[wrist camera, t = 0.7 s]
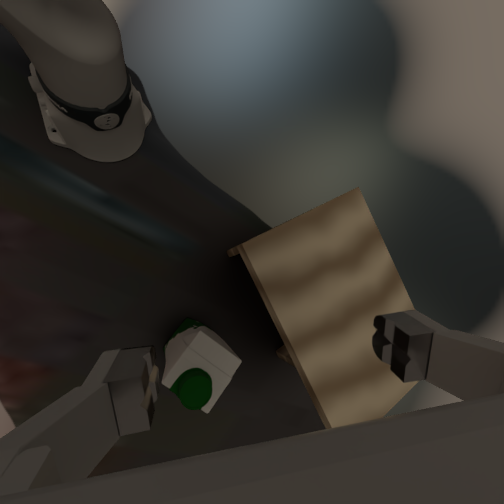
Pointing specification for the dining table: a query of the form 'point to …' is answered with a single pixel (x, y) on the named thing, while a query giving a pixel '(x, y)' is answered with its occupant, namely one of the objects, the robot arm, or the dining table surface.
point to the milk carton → (198, 365)
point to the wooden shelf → (331, 305)
